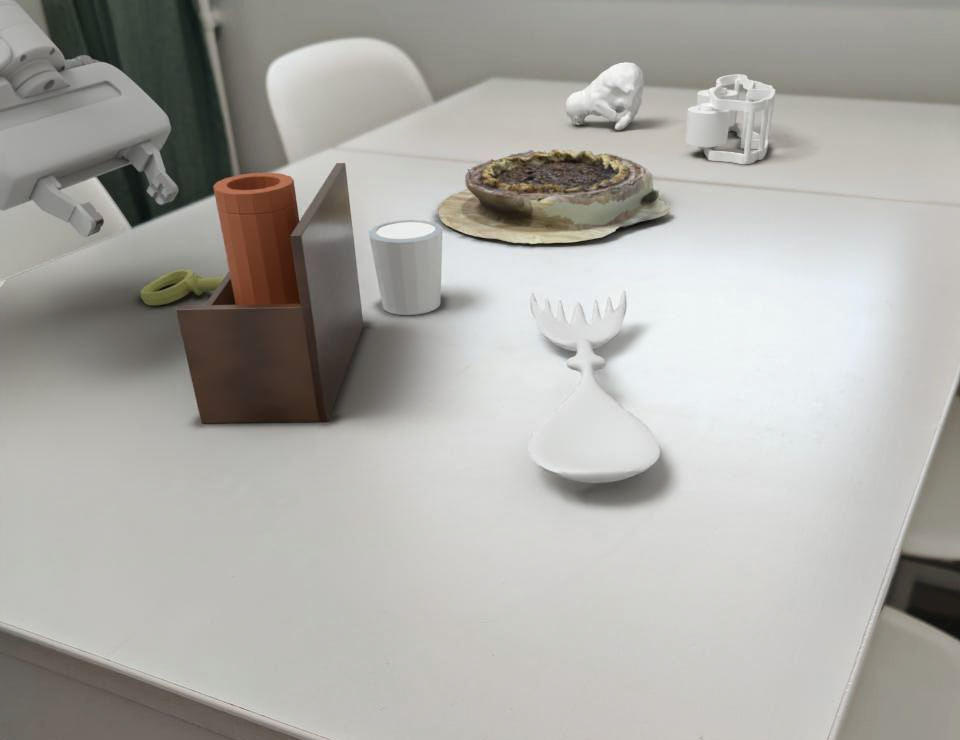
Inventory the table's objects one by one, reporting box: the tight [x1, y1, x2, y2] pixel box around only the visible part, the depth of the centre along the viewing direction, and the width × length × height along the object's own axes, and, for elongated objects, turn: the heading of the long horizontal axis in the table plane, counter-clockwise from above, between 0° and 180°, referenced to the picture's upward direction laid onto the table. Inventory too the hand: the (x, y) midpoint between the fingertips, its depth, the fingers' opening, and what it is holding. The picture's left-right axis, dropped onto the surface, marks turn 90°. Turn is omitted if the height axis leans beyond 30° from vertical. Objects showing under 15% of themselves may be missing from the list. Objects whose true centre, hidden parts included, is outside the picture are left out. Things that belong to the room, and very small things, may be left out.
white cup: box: [368, 219, 443, 316], centre depth 95 cm, size 7×7×7 cm
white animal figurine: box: [565, 61, 645, 132], centre depth 152 cm, size 6×8×12 cm
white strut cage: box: [684, 73, 776, 165], centre depth 139 cm, size 20×11×7 cm, turn 164°
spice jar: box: [212, 172, 300, 305], centre depth 80 cm, size 6×6×10 cm
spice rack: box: [175, 162, 364, 424], centre depth 81 cm, size 10×20×14 cm, turn 177°
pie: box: [438, 149, 671, 245], centre depth 119 cm, size 28×27×5 cm
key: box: [140, 268, 225, 306], centre depth 101 cm, size 7×12×2 cm, turn 96°
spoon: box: [528, 290, 661, 484], centre depth 78 cm, size 9×32×4 cm, turn 178°
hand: (134, 213), depth 83 cm, fingers open, 8 cm apart
